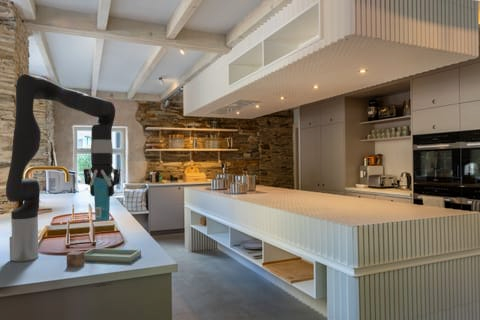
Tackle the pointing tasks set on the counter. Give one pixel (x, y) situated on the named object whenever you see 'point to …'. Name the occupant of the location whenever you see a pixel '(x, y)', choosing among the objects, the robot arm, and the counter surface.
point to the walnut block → (75, 259)
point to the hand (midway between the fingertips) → (102, 195)
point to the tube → (101, 199)
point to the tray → (111, 255)
